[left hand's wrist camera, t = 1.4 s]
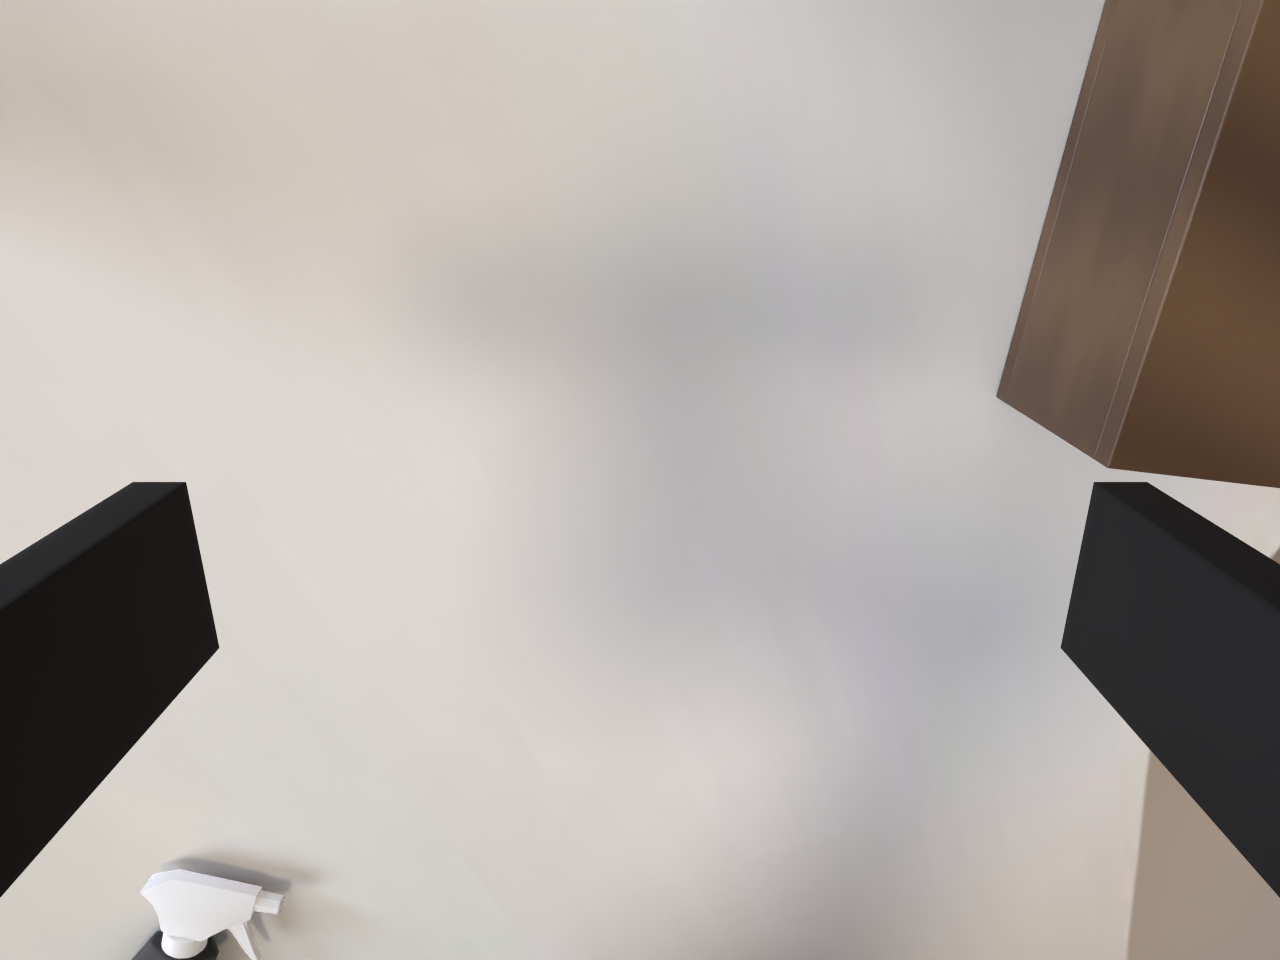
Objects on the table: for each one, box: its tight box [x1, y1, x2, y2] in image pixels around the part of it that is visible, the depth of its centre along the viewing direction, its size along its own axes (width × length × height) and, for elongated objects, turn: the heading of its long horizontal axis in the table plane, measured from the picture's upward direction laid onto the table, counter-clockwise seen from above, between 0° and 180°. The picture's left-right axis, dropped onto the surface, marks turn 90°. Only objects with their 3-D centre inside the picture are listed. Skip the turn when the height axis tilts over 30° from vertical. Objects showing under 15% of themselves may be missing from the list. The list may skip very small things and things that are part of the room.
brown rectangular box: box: [997, 0, 1280, 488], centre depth 31 cm, size 19×10×10 cm, turn 173°
